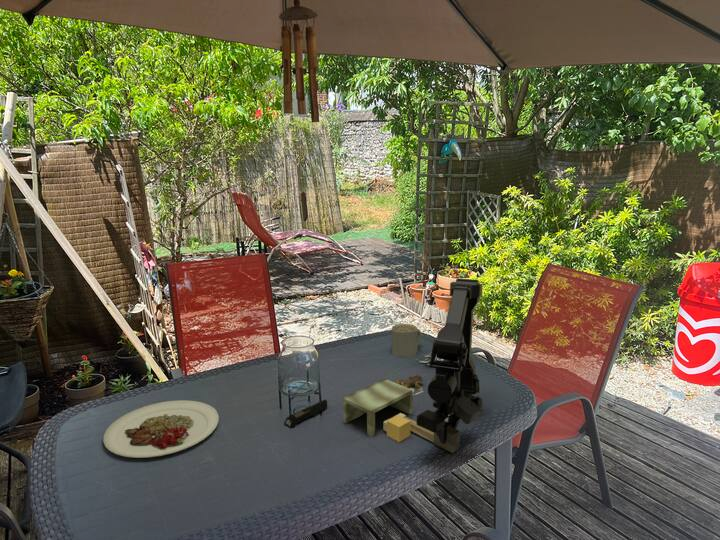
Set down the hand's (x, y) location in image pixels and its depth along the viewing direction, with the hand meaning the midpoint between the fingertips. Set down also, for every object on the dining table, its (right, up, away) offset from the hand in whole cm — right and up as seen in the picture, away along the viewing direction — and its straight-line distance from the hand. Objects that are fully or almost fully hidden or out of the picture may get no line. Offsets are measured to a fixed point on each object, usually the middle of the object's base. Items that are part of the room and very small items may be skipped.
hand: (446, 440), depth 130 cm
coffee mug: (-4, +12, +66) cm, 67 cm away
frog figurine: (-7, +5, +36) cm, 37 cm away
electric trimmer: (-38, +1, +18) cm, 42 cm away
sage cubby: (-17, +1, +16) cm, 24 cm away
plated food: (-77, -1, +11) cm, 78 cm away
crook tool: (-6, -1, +4) cm, 8 cm away
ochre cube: (-12, -1, +7) cm, 14 cm away
